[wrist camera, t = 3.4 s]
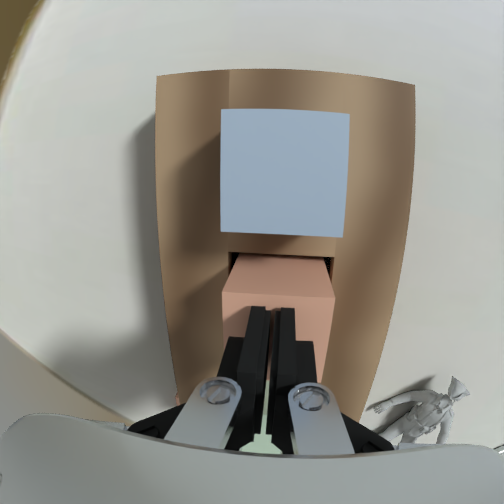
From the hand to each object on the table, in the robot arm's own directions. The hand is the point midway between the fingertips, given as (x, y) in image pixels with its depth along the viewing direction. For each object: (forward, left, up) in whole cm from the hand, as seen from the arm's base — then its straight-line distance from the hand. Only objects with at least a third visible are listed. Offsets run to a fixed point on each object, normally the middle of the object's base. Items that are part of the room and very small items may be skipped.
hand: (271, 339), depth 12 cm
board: (0, 0, -8) cm, 8 cm away
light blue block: (0, -6, -5) cm, 8 cm away
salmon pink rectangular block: (0, 0, -6) cm, 6 cm away
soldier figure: (-12, +14, -8) cm, 20 cm away
